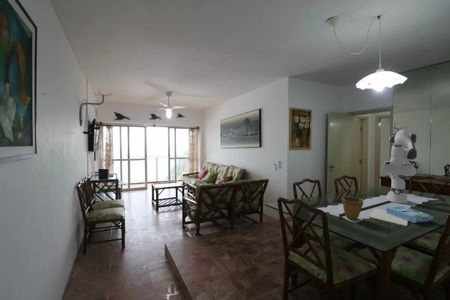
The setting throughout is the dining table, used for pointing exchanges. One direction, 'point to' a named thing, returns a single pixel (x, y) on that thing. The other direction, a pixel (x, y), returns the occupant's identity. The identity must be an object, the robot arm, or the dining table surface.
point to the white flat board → (387, 217)
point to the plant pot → (352, 207)
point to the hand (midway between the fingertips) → (394, 178)
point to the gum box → (409, 214)
